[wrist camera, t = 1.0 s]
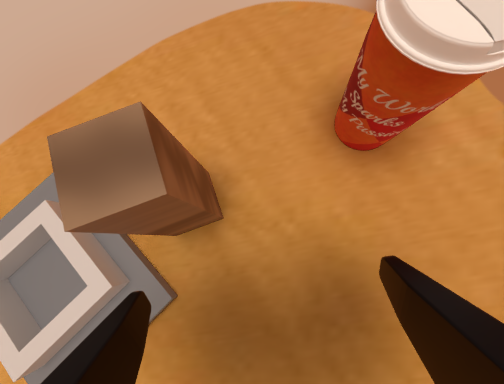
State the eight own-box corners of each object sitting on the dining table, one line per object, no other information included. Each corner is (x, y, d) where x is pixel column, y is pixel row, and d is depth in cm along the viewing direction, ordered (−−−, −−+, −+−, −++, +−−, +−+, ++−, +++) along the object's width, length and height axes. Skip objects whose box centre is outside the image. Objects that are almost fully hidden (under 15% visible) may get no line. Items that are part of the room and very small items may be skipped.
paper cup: (308, 131, 25) (354, -4, 11) (352, 78, 25) (447, -112, 12) (373, 177, 23) (522, 87, 9) (418, 119, 24) (616, -43, 10)
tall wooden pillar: (223, 218, 24) (167, 193, 11) (176, 235, 24) (64, 231, 11) (208, 172, 25) (140, 101, 12) (163, 189, 25) (46, 136, 12)
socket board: (177, 295, 22) (159, 306, 19) (63, 410, 21) (20, 446, 18) (71, 168, 26) (38, 156, 22) (-33, 261, 25) (-85, 265, 21)
